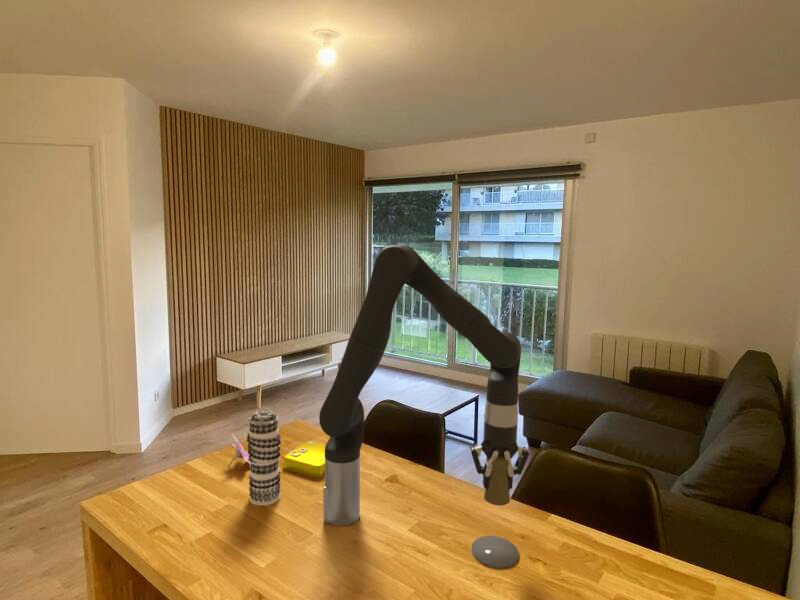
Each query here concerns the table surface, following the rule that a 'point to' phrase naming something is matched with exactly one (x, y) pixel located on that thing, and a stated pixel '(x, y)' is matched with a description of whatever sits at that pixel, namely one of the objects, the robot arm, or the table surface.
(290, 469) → the element tile
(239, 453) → the lily
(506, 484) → the olive game pawn
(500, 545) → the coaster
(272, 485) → the decorative candle
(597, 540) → the table surface
